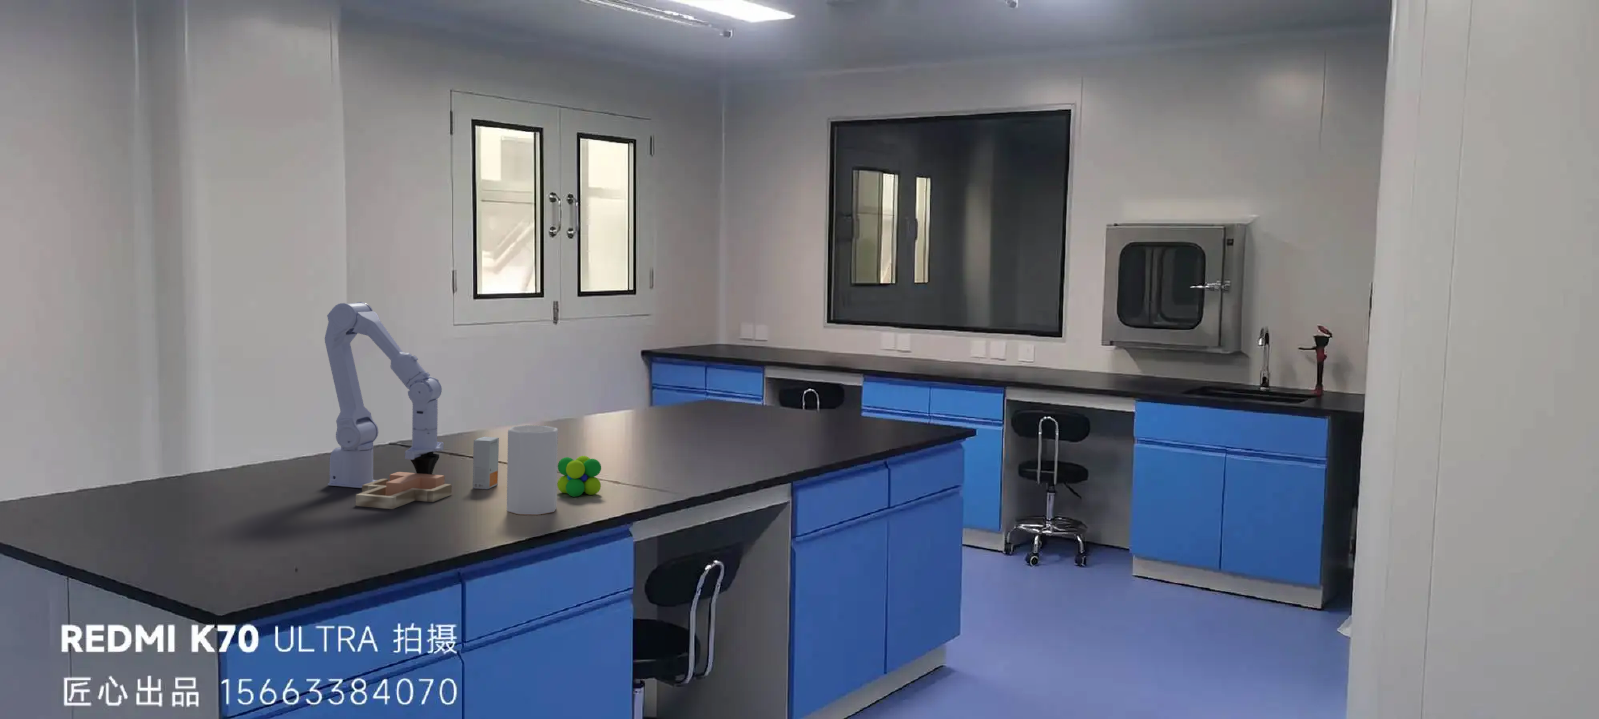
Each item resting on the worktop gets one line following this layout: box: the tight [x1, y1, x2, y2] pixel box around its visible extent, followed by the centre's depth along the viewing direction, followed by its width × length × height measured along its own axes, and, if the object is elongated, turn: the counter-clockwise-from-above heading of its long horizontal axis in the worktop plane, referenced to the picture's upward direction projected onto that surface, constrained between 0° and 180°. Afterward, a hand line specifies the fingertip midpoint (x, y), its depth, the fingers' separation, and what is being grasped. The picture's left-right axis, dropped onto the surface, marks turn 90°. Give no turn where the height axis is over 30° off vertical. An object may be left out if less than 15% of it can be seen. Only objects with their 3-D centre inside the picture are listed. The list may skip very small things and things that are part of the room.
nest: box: [355, 478, 453, 510], centre depth 263 cm, size 18×18×2 cm
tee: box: [386, 471, 446, 496], centre depth 268 cm, size 12×12×4 cm
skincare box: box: [472, 436, 500, 490], centre depth 279 cm, size 6×4×12 cm
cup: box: [506, 424, 559, 516], centre depth 256 cm, size 11×11×18 cm
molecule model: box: [557, 455, 602, 498], centre depth 276 cm, size 9×9×9 cm
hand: (424, 484), depth 275 cm, fingers closed
